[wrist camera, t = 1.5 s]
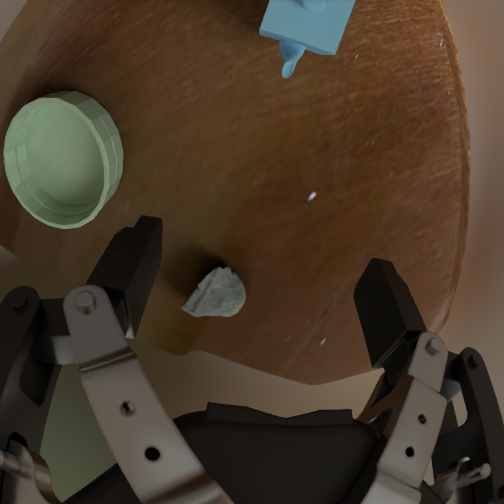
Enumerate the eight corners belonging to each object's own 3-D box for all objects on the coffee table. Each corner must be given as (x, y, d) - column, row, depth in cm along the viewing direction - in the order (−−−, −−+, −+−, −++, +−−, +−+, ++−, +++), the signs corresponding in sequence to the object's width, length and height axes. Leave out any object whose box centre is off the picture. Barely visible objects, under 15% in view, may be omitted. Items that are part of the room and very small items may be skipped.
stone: (264, 263, 40) (195, 252, 36) (271, 287, 38) (198, 278, 33) (233, 303, 47) (173, 297, 42) (237, 325, 45) (175, 321, 40)
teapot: (308, 84, 25) (324, 92, 19) (248, 65, 24) (245, 67, 18) (344, -13, 18) (370, -30, 12) (285, -34, 17) (293, -59, 11)
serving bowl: (18, 181, 31) (0, 196, 27) (40, 74, 22) (16, 81, 19) (104, 228, 36) (91, 248, 32) (146, 120, 27) (130, 131, 24)
